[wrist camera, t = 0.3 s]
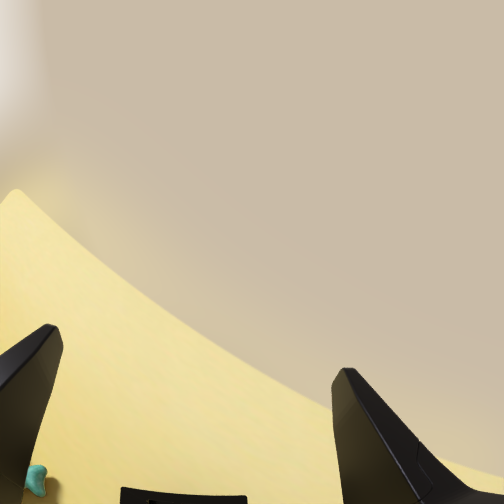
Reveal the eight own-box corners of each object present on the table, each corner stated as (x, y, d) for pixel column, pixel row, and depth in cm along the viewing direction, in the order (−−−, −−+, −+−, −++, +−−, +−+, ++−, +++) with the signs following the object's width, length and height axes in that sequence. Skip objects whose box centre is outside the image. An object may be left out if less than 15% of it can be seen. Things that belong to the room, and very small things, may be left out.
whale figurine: (-11, 434, 14) (-33, 414, 12) (56, 456, 16) (35, 438, 14) (-21, 489, 10) (-47, 474, 8) (50, 519, 11) (26, 510, 9)
